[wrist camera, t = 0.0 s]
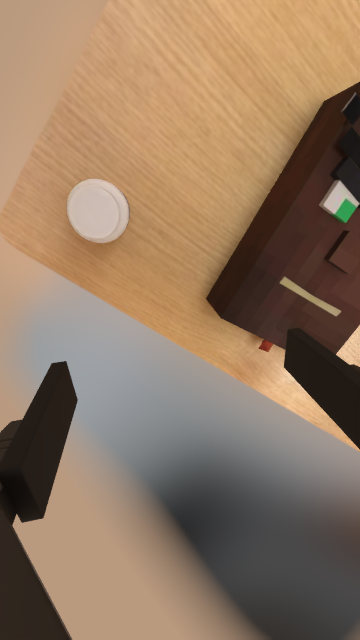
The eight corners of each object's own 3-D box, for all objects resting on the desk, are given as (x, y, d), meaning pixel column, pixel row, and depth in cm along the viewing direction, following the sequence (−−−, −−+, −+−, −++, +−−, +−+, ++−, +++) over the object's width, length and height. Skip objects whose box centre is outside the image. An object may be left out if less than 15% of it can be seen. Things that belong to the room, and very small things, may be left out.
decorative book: (202, 334, 29) (394, 25, 21) (189, 309, 36) (330, 69, 28) (323, 389, 36) (508, 166, 27) (292, 359, 42) (433, 174, 34)
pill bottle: (73, 221, 30) (47, 228, 21) (90, 173, 28) (71, 159, 19) (119, 243, 32) (113, 259, 23) (137, 199, 30) (139, 197, 21)
